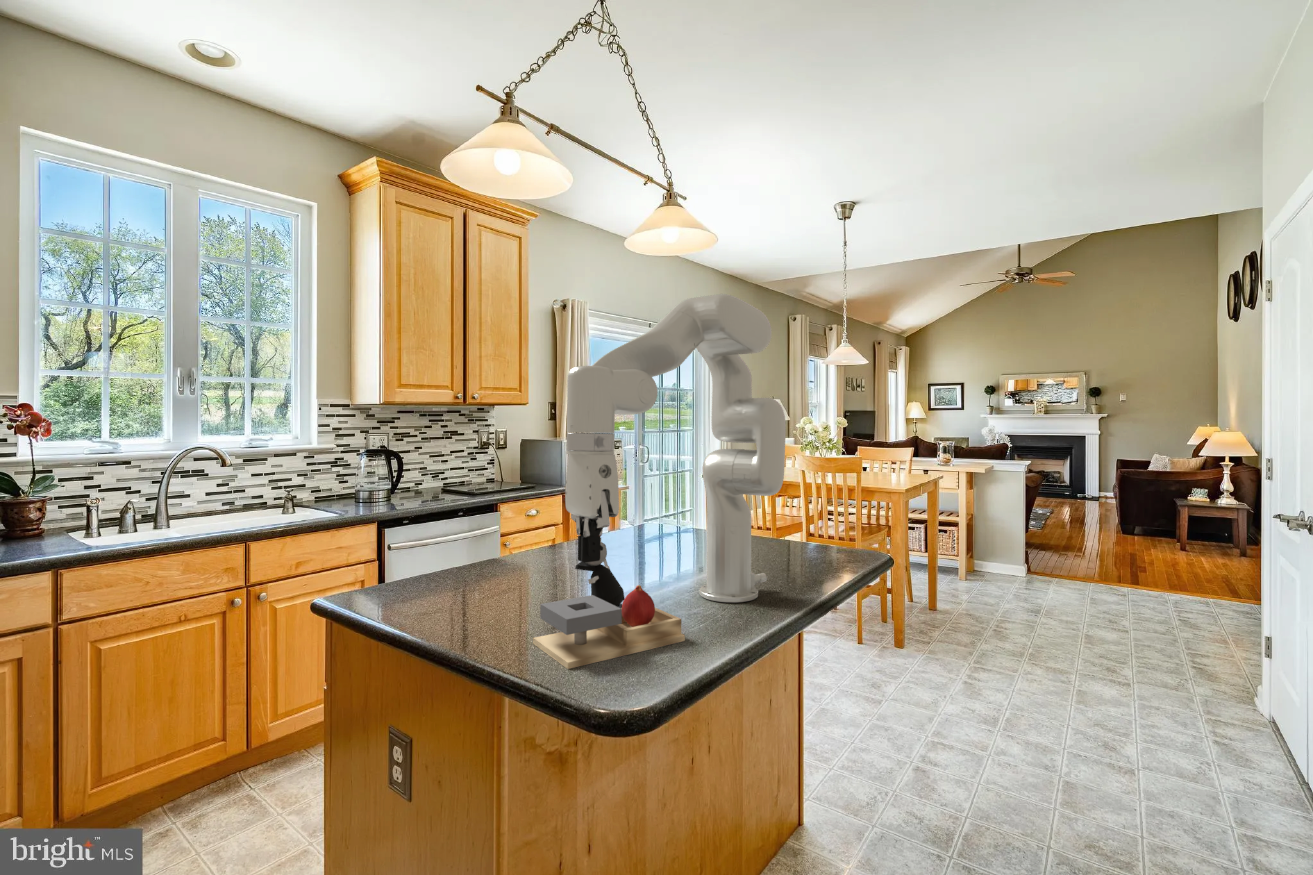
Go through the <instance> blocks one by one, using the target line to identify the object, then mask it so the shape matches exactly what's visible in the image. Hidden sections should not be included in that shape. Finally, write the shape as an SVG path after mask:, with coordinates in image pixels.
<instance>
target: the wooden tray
mask: <svg viewBox="0 0 1313 875" xmlns="http://www.w3.org/2000/svg"><path fill="white" fill-rule="evenodd" d="M621 609H622V607H621ZM685 640H686V635H685V634H683V633H682V618H681V617H679V616H676V615H673V614H671V613H668V612H666V611H664V610H662V609H659V608H657V607H655V613H654V617H653V619H652V620H651V621H650V622H649V623H648V624H645V625H640V626H636V627H632V626H630V625H629V624H628V623H627V622H626V621H625V620H624V618H623V616H622V624H618V625H613V626H608V627H603V628H598V629H593V630H589V631H584V632H579V633H574V634H569V635H566V634H564V633H563V632H561V631H559V632H556V633H552V634H550V633H549V634H546V635H545V634H544V635H541V636H536V637H532V642H533V643H532V644H533V645H534V646H535V647H536V648H538V649H539V650H541V651H543V652H544V653H545V654H547V655H548V656H549V658H550V657H551V659H553V660H555V661H556V662H557V663H559V664H560V665H562V667H564V668H565V669H567V670H570V669H574V668H577V667H582V666H586V665H591V664H594V663H598V662H603V661H608V660H611V659H616V658H620V657H624V656H628V655H632V654H636V653H640V652H644V651H648V650H653V649H658V648H662V647H665V646H669V645H670V646H671V645H674V644H678V643H682V642H686V641H685Z"/></svg>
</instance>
